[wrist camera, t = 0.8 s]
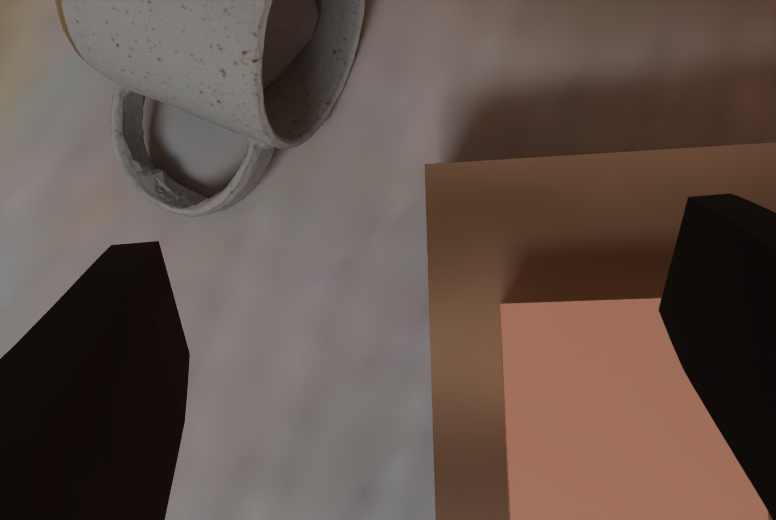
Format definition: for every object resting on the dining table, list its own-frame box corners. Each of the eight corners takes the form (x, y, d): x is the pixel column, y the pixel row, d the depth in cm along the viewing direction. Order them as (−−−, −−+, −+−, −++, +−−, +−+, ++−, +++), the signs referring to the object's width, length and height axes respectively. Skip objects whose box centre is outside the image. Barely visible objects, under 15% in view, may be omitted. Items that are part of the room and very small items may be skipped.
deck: (866, 774, 21) (954, 866, 17) (453, 753, 22) (445, 834, 18) (793, 177, 24) (854, 137, 20) (434, 197, 25) (424, 164, 21)
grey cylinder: (194, -60, 28) (85, -213, 21) (383, -8, 27) (340, -154, 19) (93, 185, 27) (-58, 117, 20) (283, 253, 26) (197, 207, 18)
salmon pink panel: (754, 655, 18) (786, 690, 16) (515, 648, 19) (518, 680, 17) (718, 303, 19) (744, 295, 18) (499, 310, 20) (500, 303, 18)
